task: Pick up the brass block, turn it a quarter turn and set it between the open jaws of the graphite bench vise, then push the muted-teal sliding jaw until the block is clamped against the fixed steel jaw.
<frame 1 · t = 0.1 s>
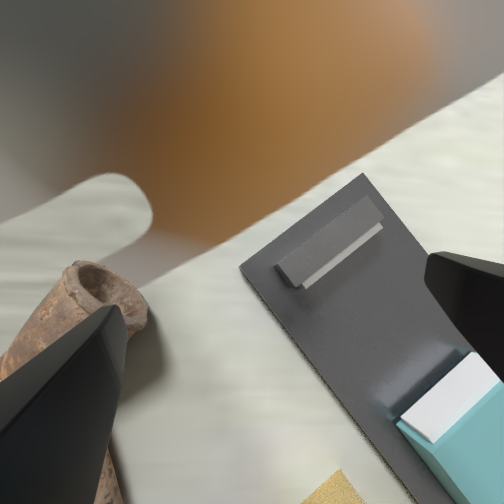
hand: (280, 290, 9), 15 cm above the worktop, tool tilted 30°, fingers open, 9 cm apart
pipe: (108, 384, 23), on the worktop
vise: (404, 355, 24), on the worktop
slide jaw: (490, 440, 21), point 3 cm above the worktop, slide at 11.0 cm
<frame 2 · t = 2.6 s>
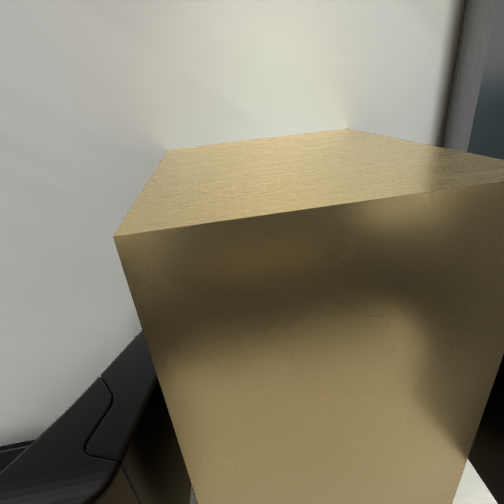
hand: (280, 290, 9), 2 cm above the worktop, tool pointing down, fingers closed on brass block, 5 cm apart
brass block: (269, 265, 10), on the worktop, touching gripper
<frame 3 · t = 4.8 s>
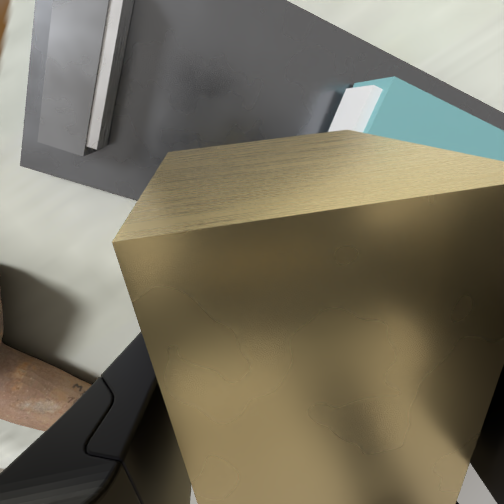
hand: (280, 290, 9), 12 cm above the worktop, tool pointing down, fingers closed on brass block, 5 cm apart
pipe: (37, 337, 23), on the worktop
vise: (279, 138, 19), on the worktop
brass block: (270, 267, 10), point 11 cm above the worktop, touching gripper
slide jaw: (390, 181, 18), point 3 cm above the worktop, slide at 11.0 cm
when the fingers open (4 cm above the worktop, at t = 7.0 s): brass block drops 1 cm, resting on vise.
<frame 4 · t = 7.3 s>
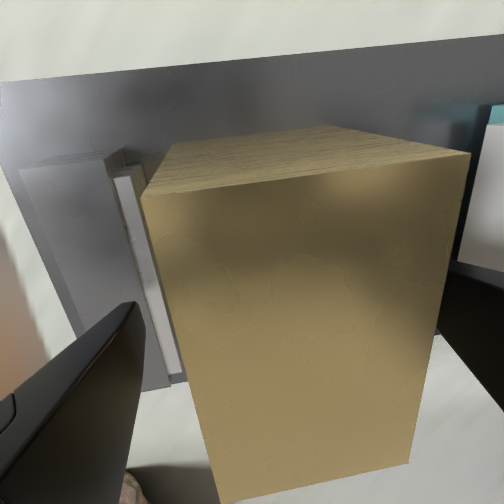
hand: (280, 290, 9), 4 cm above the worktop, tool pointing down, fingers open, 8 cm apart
vise: (387, 217, 13), on the worktop
brass block: (263, 247, 12), point 1 cm above the worktop, touching vise
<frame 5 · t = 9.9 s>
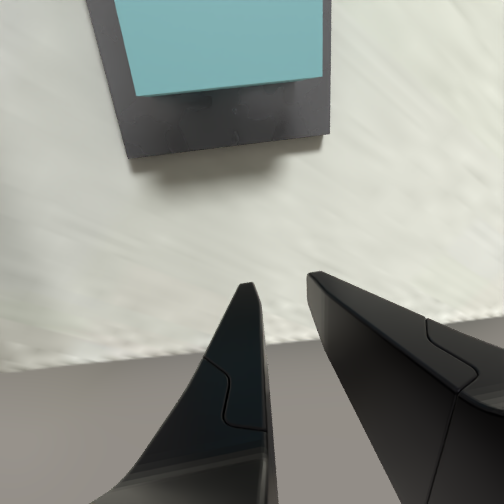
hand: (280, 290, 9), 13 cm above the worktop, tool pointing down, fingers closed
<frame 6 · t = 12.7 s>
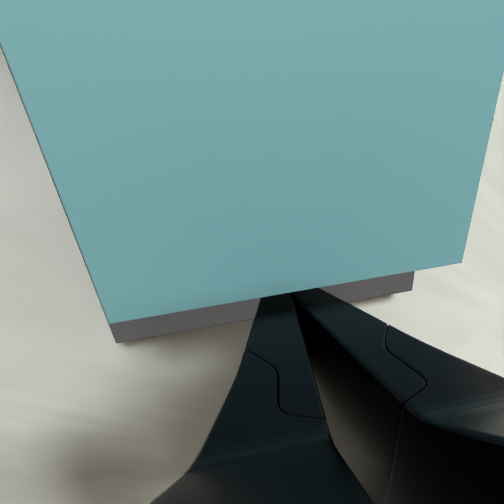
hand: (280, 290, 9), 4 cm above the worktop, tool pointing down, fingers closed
slide jaw: (261, 92, 7), point 3 cm above the worktop, slide at 10.0 cm, touching gripper
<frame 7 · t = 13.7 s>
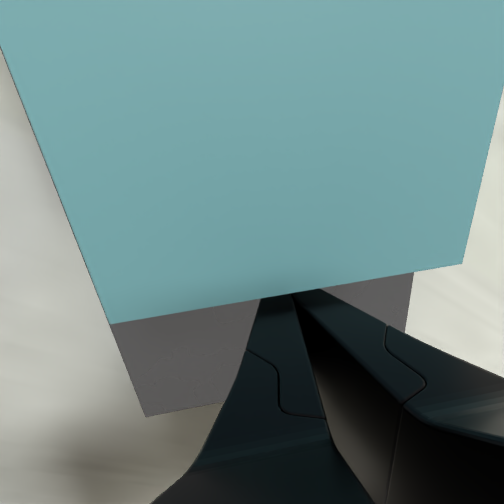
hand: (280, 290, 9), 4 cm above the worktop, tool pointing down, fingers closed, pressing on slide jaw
vise: (242, 70, 10), on the worktop
slide jaw: (263, 91, 7), point 3 cm above the worktop, slide at 5.6 cm, touching brass block, gripper
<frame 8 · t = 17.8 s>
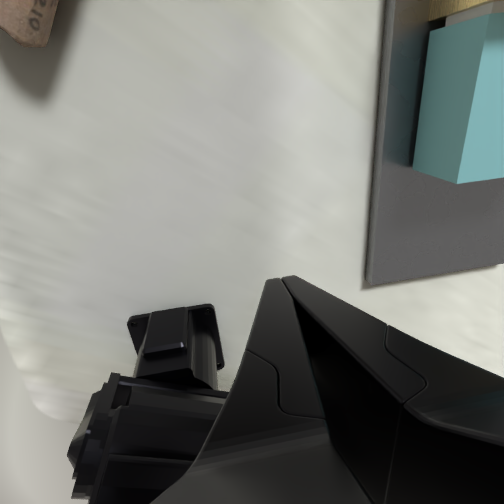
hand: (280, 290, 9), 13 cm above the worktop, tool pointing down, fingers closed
vise: (467, 91, 20), on the worktop
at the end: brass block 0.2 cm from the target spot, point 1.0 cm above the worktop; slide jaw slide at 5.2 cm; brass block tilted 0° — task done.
